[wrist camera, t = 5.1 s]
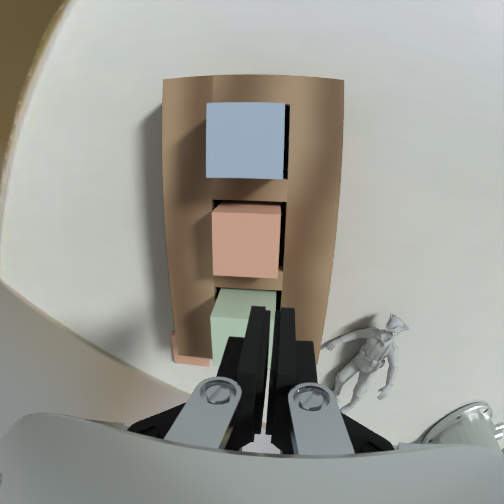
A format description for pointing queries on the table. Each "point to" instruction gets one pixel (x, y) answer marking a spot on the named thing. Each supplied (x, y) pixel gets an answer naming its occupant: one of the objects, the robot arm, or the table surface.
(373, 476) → the robot arm
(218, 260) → the salmon pink rectangular block
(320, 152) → the board
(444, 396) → the table surface
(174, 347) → the tile
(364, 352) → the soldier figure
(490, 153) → the table surface
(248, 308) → the mint green block
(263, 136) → the light blue block
